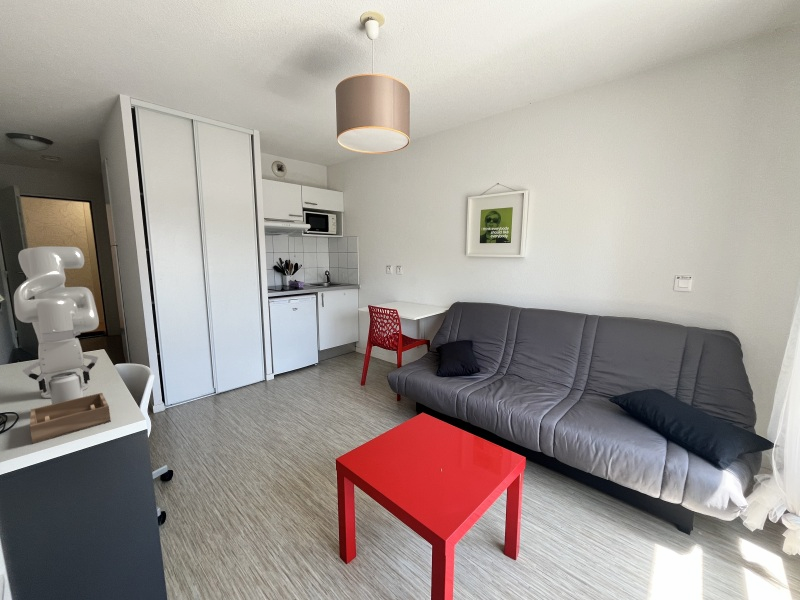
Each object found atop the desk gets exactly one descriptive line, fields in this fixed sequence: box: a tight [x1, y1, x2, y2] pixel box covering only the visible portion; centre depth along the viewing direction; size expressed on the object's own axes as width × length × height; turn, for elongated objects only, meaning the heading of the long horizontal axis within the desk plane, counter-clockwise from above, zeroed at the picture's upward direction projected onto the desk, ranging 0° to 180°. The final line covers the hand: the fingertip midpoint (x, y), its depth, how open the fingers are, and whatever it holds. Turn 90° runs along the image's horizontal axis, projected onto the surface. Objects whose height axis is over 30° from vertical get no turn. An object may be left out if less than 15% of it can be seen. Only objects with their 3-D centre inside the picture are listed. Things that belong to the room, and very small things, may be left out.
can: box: [48, 372, 84, 404], centre depth 109 cm, size 8×8×12 cm
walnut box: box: [29, 392, 112, 445], centre depth 99 cm, size 16×16×5 cm
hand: (66, 387), depth 109 cm, fingers open, 9 cm apart
